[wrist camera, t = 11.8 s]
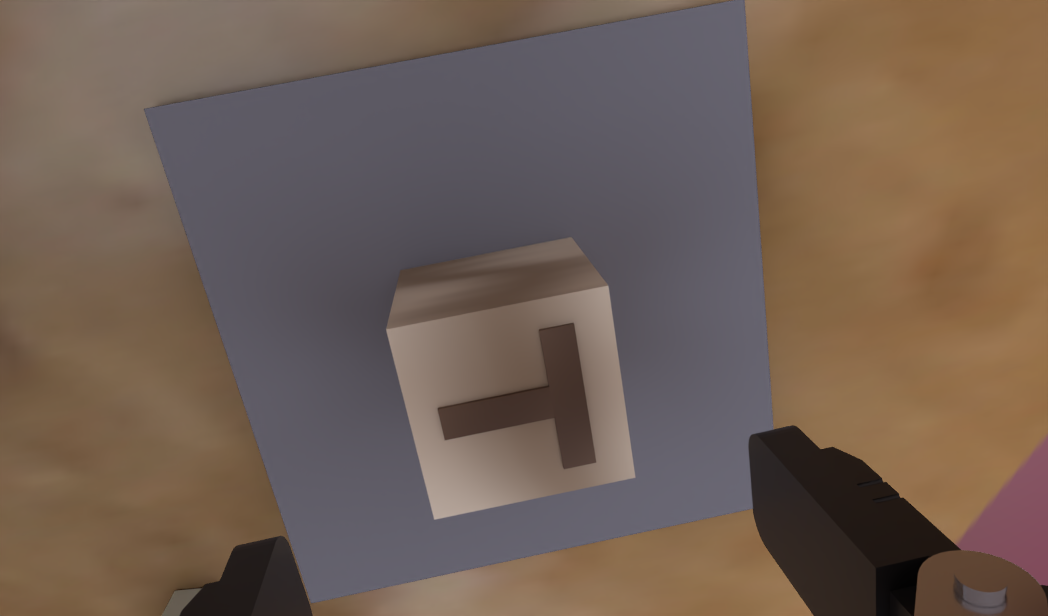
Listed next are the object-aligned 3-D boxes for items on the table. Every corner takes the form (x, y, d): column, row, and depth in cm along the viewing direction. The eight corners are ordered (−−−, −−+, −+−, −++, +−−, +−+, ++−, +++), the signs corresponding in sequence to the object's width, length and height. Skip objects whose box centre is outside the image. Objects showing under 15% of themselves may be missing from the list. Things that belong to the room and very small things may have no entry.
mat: (315, 587, 24) (310, 603, 23) (155, 107, 19) (143, 108, 18) (768, 489, 25) (778, 503, 24) (733, 1, 20) (744, -2, 19)
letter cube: (437, 424, 22) (434, 522, 17) (400, 270, 20) (385, 331, 16) (595, 391, 22) (636, 479, 17) (571, 237, 21) (609, 286, 16)
